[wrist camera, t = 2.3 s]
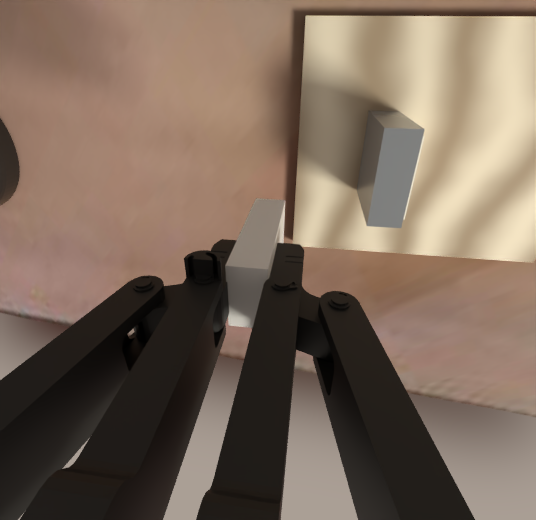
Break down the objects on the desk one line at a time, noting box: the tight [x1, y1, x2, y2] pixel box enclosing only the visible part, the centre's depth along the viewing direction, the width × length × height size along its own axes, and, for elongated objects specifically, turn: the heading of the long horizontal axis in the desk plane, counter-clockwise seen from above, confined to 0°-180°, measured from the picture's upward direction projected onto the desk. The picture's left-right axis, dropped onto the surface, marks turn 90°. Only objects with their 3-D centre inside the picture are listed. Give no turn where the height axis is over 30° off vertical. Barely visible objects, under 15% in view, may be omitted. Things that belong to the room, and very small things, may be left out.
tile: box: [357, 110, 425, 228], centre depth 27 cm, size 3×7×8 cm, turn 179°
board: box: [293, 16, 536, 263], centre depth 31 cm, size 24×20×1 cm
